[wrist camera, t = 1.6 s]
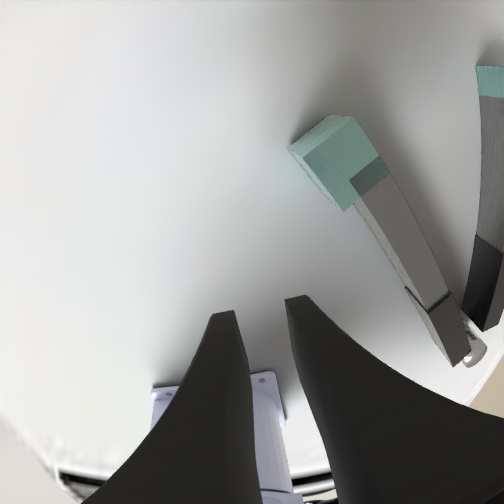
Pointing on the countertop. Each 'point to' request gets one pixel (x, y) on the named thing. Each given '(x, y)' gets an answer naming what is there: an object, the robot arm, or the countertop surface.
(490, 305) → the tongs fixed arm
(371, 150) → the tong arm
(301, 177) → the countertop surface
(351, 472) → the robot arm
